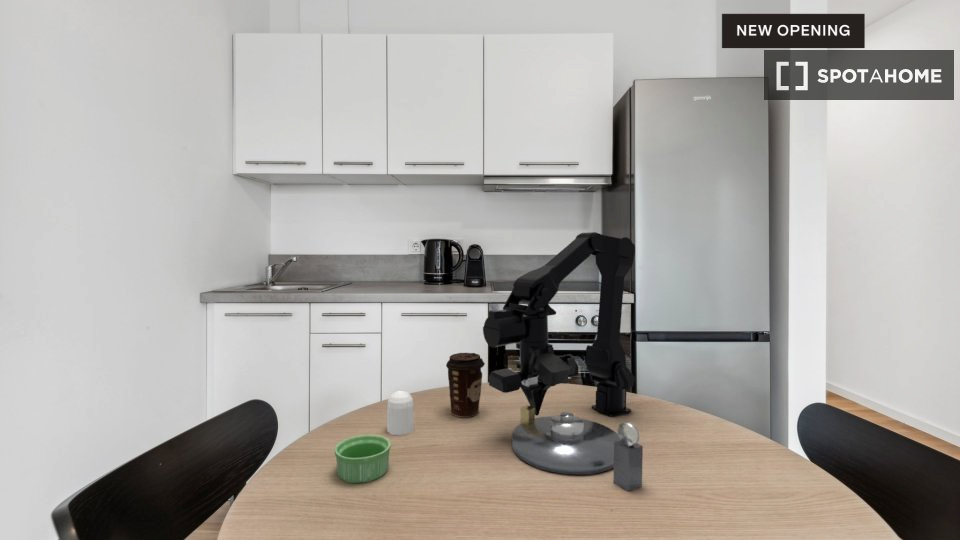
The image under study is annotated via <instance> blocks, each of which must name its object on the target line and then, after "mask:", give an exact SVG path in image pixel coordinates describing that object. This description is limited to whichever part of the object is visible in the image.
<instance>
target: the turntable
mask: <svg viewBox="0 0 960 540" xmlns="http://www.w3.org/2000/svg"><path fill="white" fill-rule="evenodd" d="M552 417H554V416H551V415H550V416H542V417H541V416H540V417H536V415H535V407H532V406H530V405H528V404H526V405H524V406H521V407H520V423H519V424H518V425H516V426H515V427H514V429H513V430H512V434H511V435H512V440H511V441H512V443H511V445H512V447H511V448H512V451H514V454H515V455H516V456H517V457H518V458H519V459H521V460H522V461H523V462H525V463H527V464H529V465H530V466H532V467H535V468H537V469H541V470H544V471H547V472H552V473H556V474H563V475H592V474H593V475H594V474H599V473H603V472H606V471H609V470H611V469H614V443H615V442H618V441H621V440H620V438H619V435H618V432H616V431H615V430H613V429H611V428H610V427H609V426H606V425H604V424H602V423H599V422H595V421H593V420H589V419H584V418H581V419H582V420H583V422H584V437H583V441H582V442H580V443H577V444H563V443H559V442H556V441H554V440H553V439H552V438H551V436H550V429H551V418H552Z"/></svg>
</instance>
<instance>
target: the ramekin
mask: <svg viewBox="0 0 960 540" xmlns="http://www.w3.org/2000/svg"><path fill="white" fill-rule="evenodd" d="M391 446H392V444H391V440H389V438H387V437H385V436H383V435H377V434H362V435H356V436H351V437H348V438H345V439H343V440H341V441H340V442H339V443H337V444H336V445H335V447H334V455H335V457H336V458H335V460H336V467H337V470H336V471H337V474H338V476H339V478H340V479H341V480H342V481H344V482H347V483H350V484H351V483H353V484H362V483H368V482H372V481H374V480H377V479H379V478H381V477H382V476H384V475H385V474H386V473H387V471H388V469H389V459H390V450H391Z"/></svg>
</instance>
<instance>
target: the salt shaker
mask: <svg viewBox="0 0 960 540" xmlns="http://www.w3.org/2000/svg"><path fill="white" fill-rule="evenodd" d="M386 403H387V405H386V408H387V409H386V410H387V412H386V414H387V417H386V418H387V419H386V421H387V426H386V427H387V429H386V430H387V433H388V432H389V433H390V434H389V433H388V434H389V435H392V436H406V435H409V434H411V433H413V432H414V430H415V428H414V427H415V423H414V422H415V417H414V416H415V415H414V413H415V412H414V410H415V409H414V399H413V396H412V395H411V394H410V393H409V392H407V391H406V390H405V391H404V390H398V391H395V392H393V393H392V394H391V395H390V396H389V397H388V400H387V402H386ZM410 432H411V433H410ZM408 433H409V434H408ZM405 434H406V435H405Z"/></svg>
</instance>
